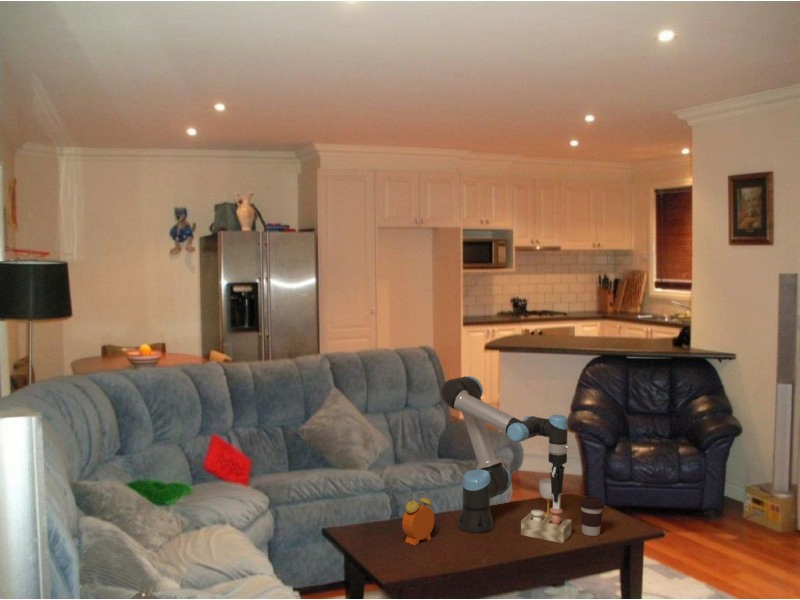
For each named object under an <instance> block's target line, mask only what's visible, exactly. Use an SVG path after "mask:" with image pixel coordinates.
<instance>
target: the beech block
mask: <svg viewBox="0 0 800 600" xmlns="http://www.w3.org/2000/svg"><path fill="white" fill-rule="evenodd" d="M551 519H552V516H548V515H543V516H542V521H536V520H533V515H531V512H529V513H528V514H527V515H526V516H525V517H523V518H522V519H521V520H520V536H526V537H530V538H534V539H535V538H536V539H539V540H540V539H541V540H545V541H551V542H556V543H559V544H564V543H565V542H566V541H567V540H568V538H569V537H570V536H571V535H572V523H573V522H572V519H570V518H564V517H560V525H557V524H552V523H551Z"/></svg>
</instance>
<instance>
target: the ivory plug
mask: <svg viewBox="0 0 800 600" xmlns="http://www.w3.org/2000/svg"><path fill="white" fill-rule="evenodd" d="M544 512H545V511H544V510H542V509H532V510H531V515H533V520H536V521H542V516H543V515H544Z"/></svg>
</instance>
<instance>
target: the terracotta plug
mask: <svg viewBox="0 0 800 600" xmlns="http://www.w3.org/2000/svg"><path fill="white" fill-rule="evenodd" d="M549 513H552V519H551V523H552V524H557V525H560V518H561V515H562V514H563V508H562V507H560V510H557V509H553V506H552V507H549Z"/></svg>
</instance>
